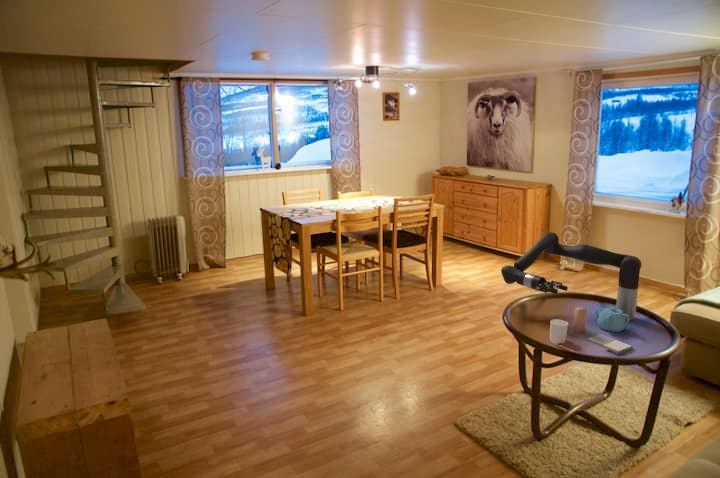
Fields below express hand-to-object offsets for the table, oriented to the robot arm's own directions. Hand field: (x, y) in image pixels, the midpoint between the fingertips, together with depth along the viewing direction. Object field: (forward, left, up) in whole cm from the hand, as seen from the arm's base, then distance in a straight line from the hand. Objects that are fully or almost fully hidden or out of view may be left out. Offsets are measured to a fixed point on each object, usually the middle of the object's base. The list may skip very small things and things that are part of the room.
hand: (562, 290), depth 251 cm
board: (-1, +21, -20) cm, 29 cm away
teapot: (-20, +16, -20) cm, 32 cm away
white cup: (+16, +12, -20) cm, 28 cm away
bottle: (-1, +11, -18) cm, 21 cm away
